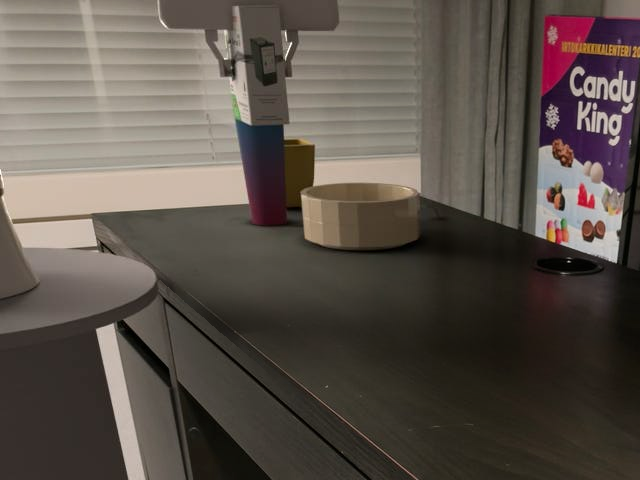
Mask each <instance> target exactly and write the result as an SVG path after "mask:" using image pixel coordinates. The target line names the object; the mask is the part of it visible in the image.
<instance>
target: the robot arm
mask: <svg viewBox="0 0 640 480" xmlns="http://www.w3.org/2000/svg"><path fill="white" fill-rule="evenodd" d="M248 5H277V6H278V7H279V12H280V24H281V32H282V31H284V32H285V34H284V35H285V42H286V43H290V44H289V47H288V50H287V51H286V55H285V56H284V69H285V78H293V67H292V60H293V58H294V56H295V53H296V51H297V49H298V46H299V44H300V39H299V32H334V31H335V30H336V29H337V28H338V26H339V24H340V12H339V11H340V10H339V2H338V0H157V10H158V11H157V12H158V18H159V21H160V23H161V24H162V25H163V26H164V27H165V28H166V29H167V30H198V31H199V30H203V31H204V36H205V37H204V39H205V42H206V44H207V46H208V47H209V49H210V51H211V53H212V54H213V56H214V57H215V58H216V60H217V63H218V71H219V77H220V78H229V77H233V73H232V69H231V66H232V64H231V59H227V58H224V56H223V54H222V52H221V51H220V49H219V48H218V46H217V45H216V43H217V42H219V33H218V31H224V30H233V21H232V9H231V7H232V6H248ZM3 178H4V177H3V174H2V169H1V168H0V299H2V298H6V297H10V296H14V295H17V294H20V293H23V292H26V291H28V290H30V289H32V288H34V287H36V286H37V285H38V284H39V282H40V280H39V278H38V276H37V274H36V273H35V271H34V269H33V267H32V265H31V264H30V262H29V260H28V258H27V256H26V253H25V251H24V249H23V245H22V242H21V241H20V238H19V235H18V233H17V231H16V228H15V224H14V223H13V220H12V218H11V215H10V212H9V209H8V205H7V204H6V200H5V197H4V194H5V189H4V188H5V183H4V179H3Z"/></svg>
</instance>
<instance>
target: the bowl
mask: <svg viewBox="0 0 640 480" xmlns="http://www.w3.org/2000/svg"><path fill="white" fill-rule="evenodd" d="M300 195H301V206H302V207H301V217H302V228H303V229H302V230H303V237H304V239H305V240H307V241H308V242H311V243H314V244H317V245H320V246H322V247H325V248H329V249H336V250H345V251H377V250H388V249H394V248H398V247H402V246H405V245H406V244H409V243H412V242H414V241H416V240H418V239H419V238H420V237H421V215H420V214H421V213H420V210H421V206H420V205H421V203H420V192H419V190H418V189H416V188H413V187H411V186H406V185H401V184H393V183H381V182H337V183H327V184H317V185H313V186H312V187H309V188H305V189H304V190H302V191H301V192H300Z"/></svg>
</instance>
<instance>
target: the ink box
mask: <svg viewBox="0 0 640 480" xmlns="http://www.w3.org/2000/svg"><path fill="white" fill-rule="evenodd" d="M231 9H232V21H233V30H223V33H224V41H225V49H226V59H231V64H232V66H231V69H232V73H233V77H228V78H229V86H230V87H229V88H230V94H231V102H232V103H231V105H232V104H233V106H232V113H233V118H234V120H235V119H238V120H240V121H242V122H244V123H247V124H249V125H251V126H258V125H290V113H289V102H288V101H289V100H288V91H287V81H286V80H287V79H286V77H285V69H284V59H285V57H284V50H283V48H284V47H283V38H282V37H283V35H282V31H281V24H280V12H279V7H278V6H277V5H248V6H232V7H231Z"/></svg>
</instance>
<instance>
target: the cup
mask: <svg viewBox="0 0 640 480" xmlns="http://www.w3.org/2000/svg"><path fill="white" fill-rule="evenodd" d="M231 105H232V107H233V104H232V103H231ZM234 123H235V130H236V135H237V141H238V146H239V152H240V158H241V159H240V160H241V164H242V171H243V176H244V182H245V189H246V193H247V201H248V205H249V206H248V207H249V212H250V217H251V222H252V224H253V225H257V226H269V227H270V226H281V225H285V224H287V223H288V210H287V208H288V207H287V205H286V178H285V150H284V139H285V126H284V125H285V124H284V125H258V126H251V125H249V124H247V123H244V122H242V121H240V120H238V119H235V118H234Z"/></svg>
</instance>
